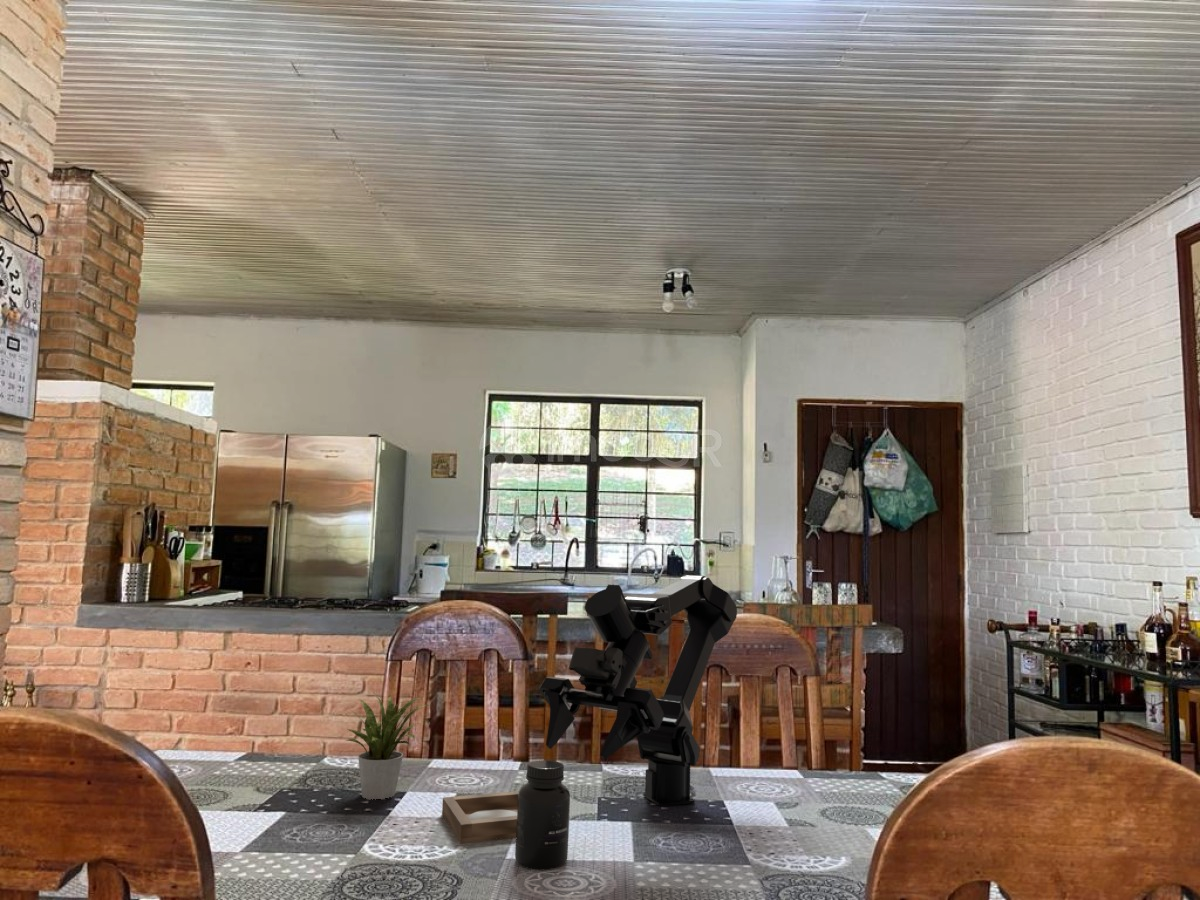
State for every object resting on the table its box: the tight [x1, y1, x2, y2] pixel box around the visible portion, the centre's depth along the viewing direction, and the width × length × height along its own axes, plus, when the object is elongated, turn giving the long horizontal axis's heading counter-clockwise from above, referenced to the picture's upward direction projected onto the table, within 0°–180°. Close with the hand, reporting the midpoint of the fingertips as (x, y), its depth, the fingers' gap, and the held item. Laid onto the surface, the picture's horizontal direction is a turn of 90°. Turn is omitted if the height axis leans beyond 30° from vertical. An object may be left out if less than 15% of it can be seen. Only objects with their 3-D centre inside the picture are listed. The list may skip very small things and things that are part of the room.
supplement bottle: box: [514, 759, 571, 871], centre depth 103 cm, size 7×7×12 cm
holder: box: [441, 790, 519, 844], centre depth 116 cm, size 13×13×2 cm
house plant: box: [344, 692, 430, 801], centre depth 130 cm, size 14×14×16 cm
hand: (574, 752), depth 109 cm, fingers open, 9 cm apart
